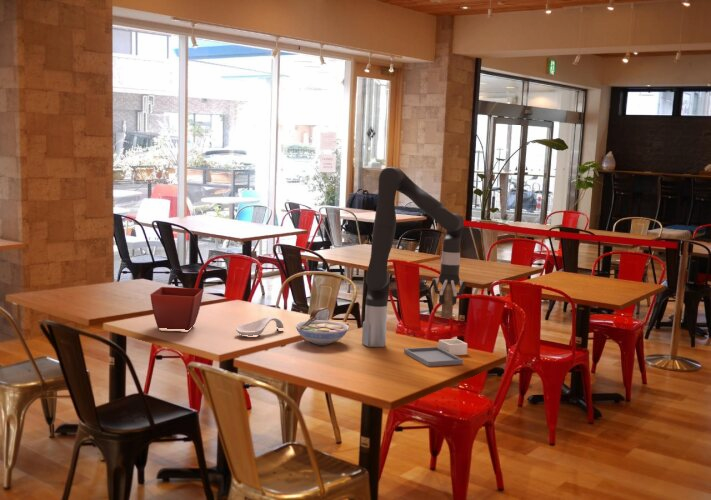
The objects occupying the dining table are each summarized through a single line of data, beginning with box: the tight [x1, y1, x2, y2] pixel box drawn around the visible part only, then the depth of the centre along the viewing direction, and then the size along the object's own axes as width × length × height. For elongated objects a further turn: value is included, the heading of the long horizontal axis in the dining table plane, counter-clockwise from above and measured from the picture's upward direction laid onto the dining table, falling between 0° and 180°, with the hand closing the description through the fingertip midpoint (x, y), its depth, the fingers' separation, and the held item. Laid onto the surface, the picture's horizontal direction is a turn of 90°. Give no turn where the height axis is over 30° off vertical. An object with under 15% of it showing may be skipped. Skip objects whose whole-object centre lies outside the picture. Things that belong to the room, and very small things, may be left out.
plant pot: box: [149, 286, 204, 330], centre depth 351 cm, size 19×19×17 cm
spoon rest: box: [235, 316, 285, 336], centre depth 349 cm, size 24×12×7 cm, turn 137°
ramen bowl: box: [295, 317, 350, 346], centre depth 339 cm, size 25×23×8 cm
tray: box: [403, 346, 464, 367], centre depth 322 cm, size 15×21×2 cm
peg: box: [440, 284, 454, 319], centre depth 326 cm, size 3×3×14 cm
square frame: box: [438, 338, 468, 356], centre depth 333 cm, size 9×9×4 cm
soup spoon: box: [309, 306, 331, 321], centre depth 372 cm, size 15×3×8 cm, turn 152°
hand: (447, 304), depth 327 cm, fingers closed on peg, 4 cm apart
